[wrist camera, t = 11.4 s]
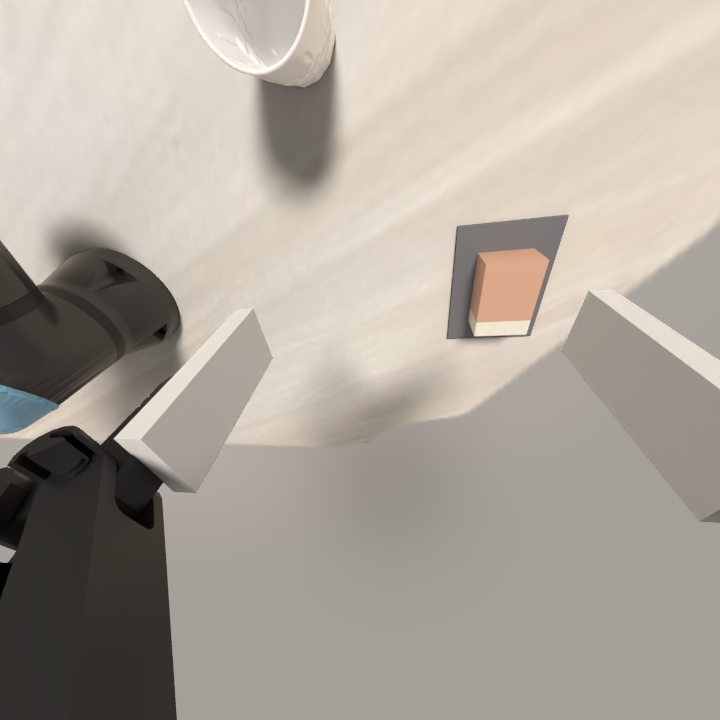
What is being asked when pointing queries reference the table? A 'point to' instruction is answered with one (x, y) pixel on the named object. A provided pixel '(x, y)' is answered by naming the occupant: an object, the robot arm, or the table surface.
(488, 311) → the flat block
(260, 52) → the white cup
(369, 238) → the table surface
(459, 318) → the mat
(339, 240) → the table surface
